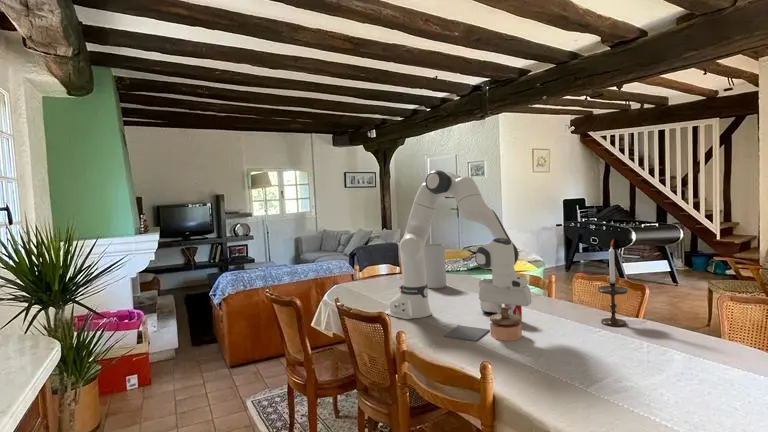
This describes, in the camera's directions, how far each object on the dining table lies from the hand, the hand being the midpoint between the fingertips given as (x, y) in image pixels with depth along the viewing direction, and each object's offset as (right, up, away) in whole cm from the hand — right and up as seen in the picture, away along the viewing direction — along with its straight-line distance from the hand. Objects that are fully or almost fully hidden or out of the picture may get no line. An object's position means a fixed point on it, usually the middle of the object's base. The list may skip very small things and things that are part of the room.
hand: (505, 314), depth 177 cm
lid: (0, -2, 0) cm, 2 cm away
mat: (-14, -9, +6) cm, 18 cm away
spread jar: (+2, -6, +35) cm, 35 cm away
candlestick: (+47, -6, +8) cm, 48 cm away
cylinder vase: (-17, -4, +92) cm, 94 cm away
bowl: (+1, -9, +1) cm, 9 cm away
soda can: (+8, -7, +17) cm, 20 cm away
